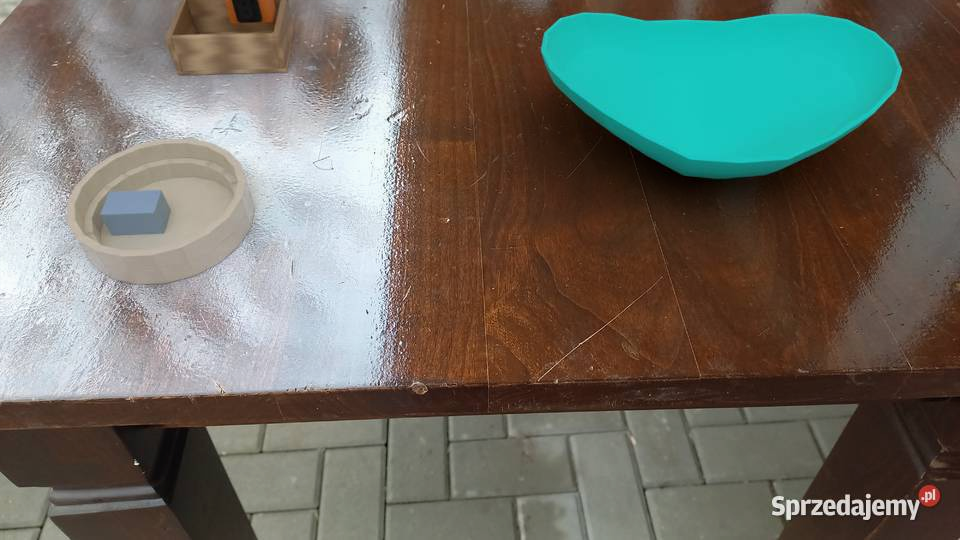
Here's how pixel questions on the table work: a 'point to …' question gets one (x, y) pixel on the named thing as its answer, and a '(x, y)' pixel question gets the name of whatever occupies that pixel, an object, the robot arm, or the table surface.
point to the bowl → (191, 198)
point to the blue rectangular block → (136, 212)
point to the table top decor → (722, 85)
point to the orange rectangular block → (265, 7)
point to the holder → (228, 40)
